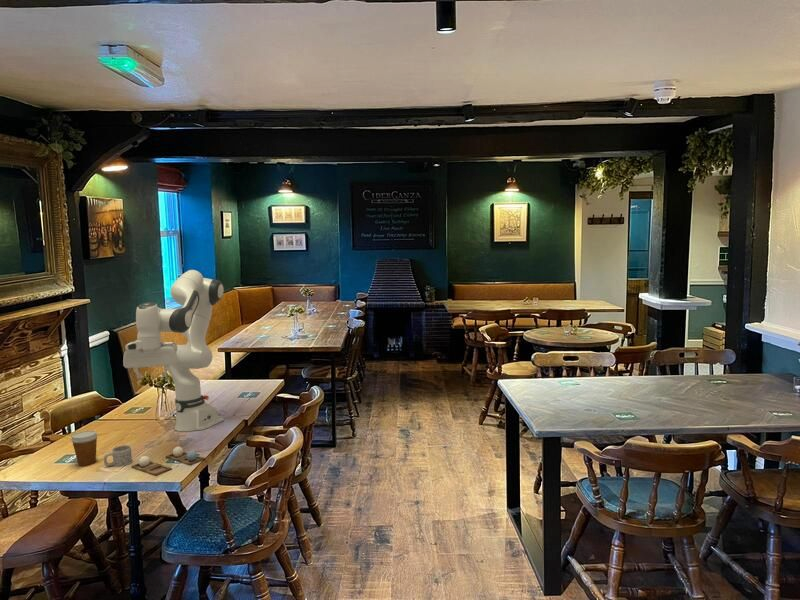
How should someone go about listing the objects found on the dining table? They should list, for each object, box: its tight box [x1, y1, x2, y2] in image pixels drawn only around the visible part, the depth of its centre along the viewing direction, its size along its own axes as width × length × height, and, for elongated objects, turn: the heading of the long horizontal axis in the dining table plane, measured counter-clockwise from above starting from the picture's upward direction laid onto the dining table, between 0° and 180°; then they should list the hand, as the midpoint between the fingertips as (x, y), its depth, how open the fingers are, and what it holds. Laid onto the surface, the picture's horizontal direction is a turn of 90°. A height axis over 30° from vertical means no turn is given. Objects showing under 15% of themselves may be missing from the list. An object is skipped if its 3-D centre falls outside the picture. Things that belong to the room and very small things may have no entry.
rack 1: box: [130, 460, 173, 477], centre depth 228 cm, size 16×7×1 cm, turn 56°
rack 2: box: [165, 450, 206, 466], centre depth 237 cm, size 16×7×1 cm, turn 56°
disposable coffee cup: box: [70, 429, 99, 467], centre depth 237 cm, size 10×10×12 cm
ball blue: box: [187, 450, 198, 461], centre depth 234 cm, size 4×4×4 cm
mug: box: [103, 445, 133, 467], centre depth 234 cm, size 10×7×7 cm, turn 127°
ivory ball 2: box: [172, 446, 184, 457], centre depth 239 cm, size 4×4×4 cm
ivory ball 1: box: [138, 455, 151, 467], centre depth 230 cm, size 4×4×4 cm
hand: (152, 377), depth 239 cm, fingers open, 8 cm apart
